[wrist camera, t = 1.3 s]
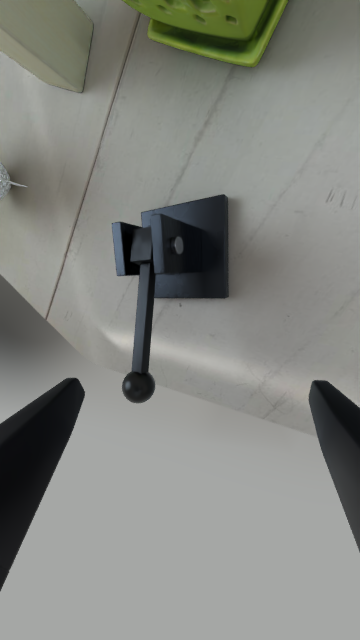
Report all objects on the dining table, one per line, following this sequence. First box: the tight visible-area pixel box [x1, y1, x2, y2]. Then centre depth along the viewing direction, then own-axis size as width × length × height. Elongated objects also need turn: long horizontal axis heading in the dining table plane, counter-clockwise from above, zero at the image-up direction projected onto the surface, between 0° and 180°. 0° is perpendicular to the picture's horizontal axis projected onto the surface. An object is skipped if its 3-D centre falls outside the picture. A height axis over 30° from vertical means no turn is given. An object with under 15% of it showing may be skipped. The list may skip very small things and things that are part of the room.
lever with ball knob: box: [122, 226, 156, 403], centre depth 20 cm, size 15×3×3 cm, turn 3°
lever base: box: [112, 194, 229, 298], centre depth 22 cm, size 10×10×9 cm
